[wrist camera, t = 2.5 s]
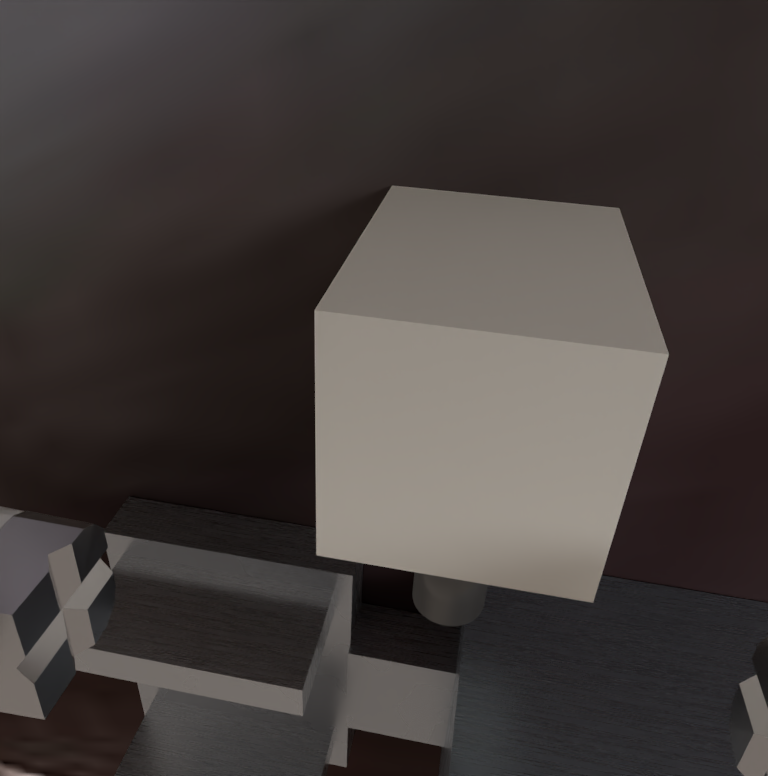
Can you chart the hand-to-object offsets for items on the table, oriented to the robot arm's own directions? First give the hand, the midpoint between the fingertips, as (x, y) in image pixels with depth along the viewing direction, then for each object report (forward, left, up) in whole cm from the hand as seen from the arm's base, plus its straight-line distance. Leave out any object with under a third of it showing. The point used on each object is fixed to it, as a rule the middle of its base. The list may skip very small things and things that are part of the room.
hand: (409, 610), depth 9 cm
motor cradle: (+11, +1, -8) cm, 14 cm away
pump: (-1, +1, -8) cm, 8 cm away
